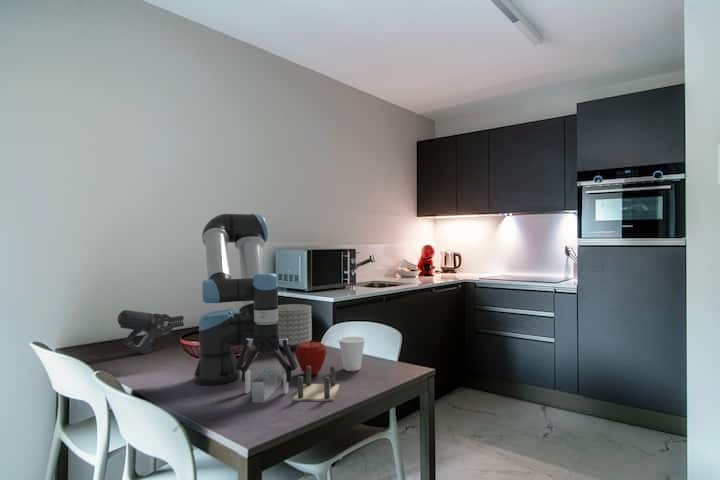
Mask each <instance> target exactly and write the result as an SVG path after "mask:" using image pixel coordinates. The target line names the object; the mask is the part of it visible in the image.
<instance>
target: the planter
mask: <svg viewBox="0 0 720 480" xmlns="http://www.w3.org/2000/svg"><path fill="white" fill-rule="evenodd" d="M312 319H313V318H312V305H309V304H301V303H299V304H296V303H295V304H293V303H290V304H280V305H279V304H278V321H277V323H278V336H279V339H286V338H288V339H289V347H290V349H291V350H294V349H295V350H296V348H297V347H298V346H299V345H300V344H301V343H304V342H311V341H312V340H313V339H312V338H313V336H312V335H313V332H312V331H313V327H312V326H313V325H312V324H313V323H312ZM277 347H278V348H281V349H283V346H282V345H281V344H280V343H279V344H278V346H277Z"/></svg>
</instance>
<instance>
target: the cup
mask: <svg viewBox="0 0 720 480" xmlns="http://www.w3.org/2000/svg"><path fill="white" fill-rule="evenodd" d="M365 341H366V339H365V338H364V337H362V336H344V337H343V336H342V337H340V338H339V339H338V342H339V347H340V353H341V358H342V359H341V360H342V364H343V369H344V370H345V371H347V372H357V371H359V370H360V369H361V367H362V361H363V360H362V359H363V355H364V354H363V353H364V347H365Z"/></svg>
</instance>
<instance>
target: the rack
mask: <svg viewBox="0 0 720 480" xmlns="http://www.w3.org/2000/svg"><path fill="white" fill-rule="evenodd" d="M329 371H330V372H329V376H324V377H323V383H312V375H311V366H306V374H305V383H304V376H301V375H300V376H297V392H296V393H295V395H294V396H293V398H292V401H300V402H301V401H302V402H303V401H305V402H306V401H307V402H310V401H311V402H334V400H335V398H336V395H337V394H338V392H339V389H340V384H338V383H337V384H336V366H334V365H332V366H330V367H329Z"/></svg>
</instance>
